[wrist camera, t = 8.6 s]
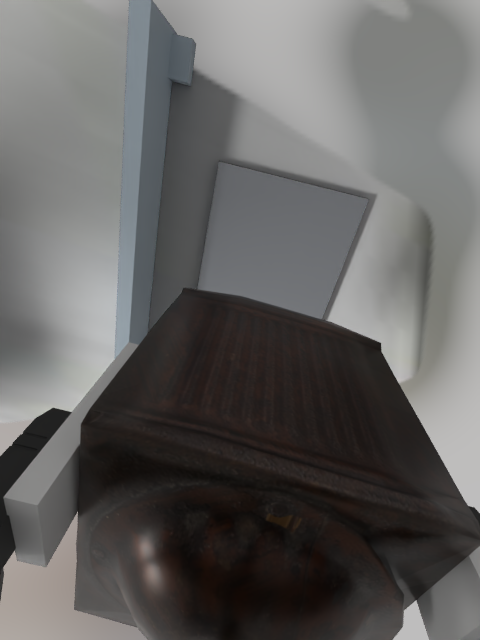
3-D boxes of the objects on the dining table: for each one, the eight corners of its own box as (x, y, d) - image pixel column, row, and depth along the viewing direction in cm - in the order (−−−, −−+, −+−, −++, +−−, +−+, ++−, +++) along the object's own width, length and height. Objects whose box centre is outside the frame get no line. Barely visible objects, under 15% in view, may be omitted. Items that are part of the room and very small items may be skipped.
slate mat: (190, 332, 32) (189, 335, 31) (220, 161, 24) (218, 161, 24) (304, 360, 32) (304, 363, 32) (367, 198, 25) (369, 199, 24)
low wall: (121, 356, 34) (98, 385, 30) (139, 23, 21) (103, -14, 17) (157, 364, 34) (140, 394, 30) (196, 38, 21) (176, 5, 17)
